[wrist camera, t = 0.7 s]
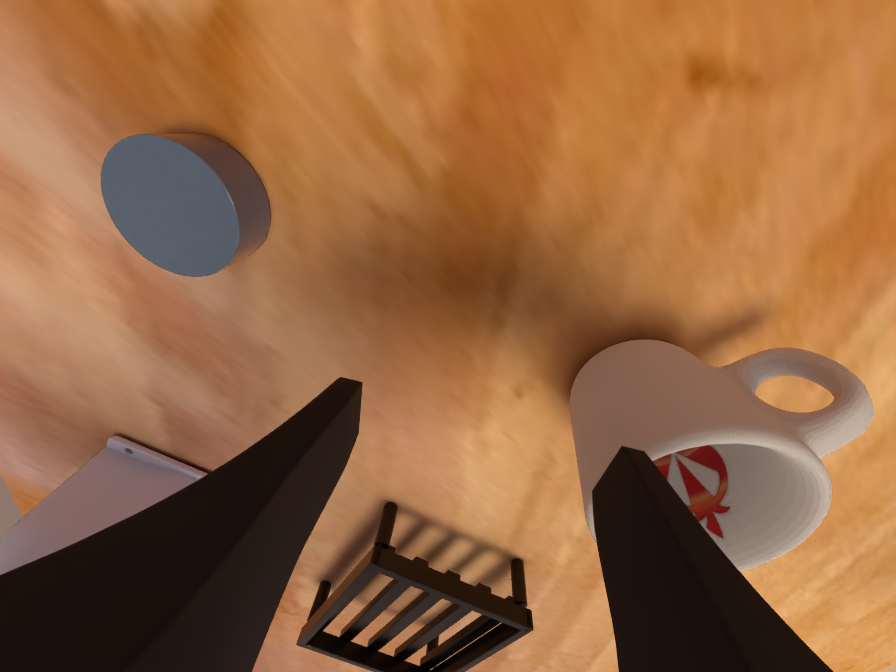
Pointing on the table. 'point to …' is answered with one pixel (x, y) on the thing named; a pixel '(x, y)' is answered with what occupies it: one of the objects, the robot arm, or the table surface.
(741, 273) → the table surface
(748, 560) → the cup
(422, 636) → the rack
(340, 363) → the table surface
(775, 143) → the table surface
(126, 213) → the glossy blue puck
